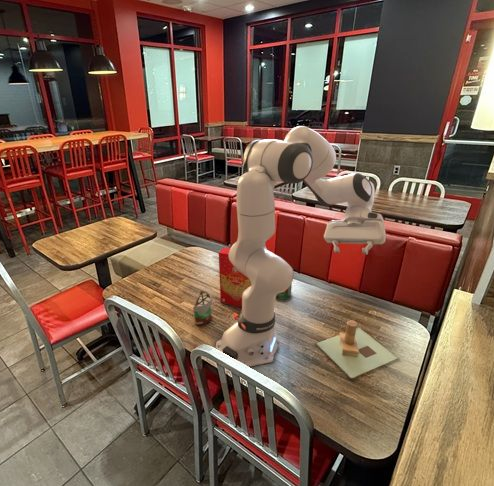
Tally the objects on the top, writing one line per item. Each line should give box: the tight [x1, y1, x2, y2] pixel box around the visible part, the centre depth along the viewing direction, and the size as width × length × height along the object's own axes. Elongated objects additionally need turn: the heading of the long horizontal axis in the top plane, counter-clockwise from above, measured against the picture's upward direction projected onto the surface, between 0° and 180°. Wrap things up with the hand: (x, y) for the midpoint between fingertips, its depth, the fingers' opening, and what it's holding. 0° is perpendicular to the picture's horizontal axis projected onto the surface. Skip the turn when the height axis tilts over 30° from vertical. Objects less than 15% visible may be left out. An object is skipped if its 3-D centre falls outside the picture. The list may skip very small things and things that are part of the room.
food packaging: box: [218, 247, 251, 308], centre depth 132 cm, size 15×5×25 cm, turn 66°
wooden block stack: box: [338, 320, 359, 357], centre depth 108 cm, size 9×5×10 cm, turn 167°
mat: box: [316, 327, 398, 379], centre depth 108 cm, size 20×17×1 cm
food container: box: [192, 289, 213, 326], centre depth 127 cm, size 12×6×10 cm, turn 168°
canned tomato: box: [275, 282, 293, 302], centre depth 138 cm, size 8×8×11 cm
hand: (349, 252), depth 108 cm, fingers open, 8 cm apart
